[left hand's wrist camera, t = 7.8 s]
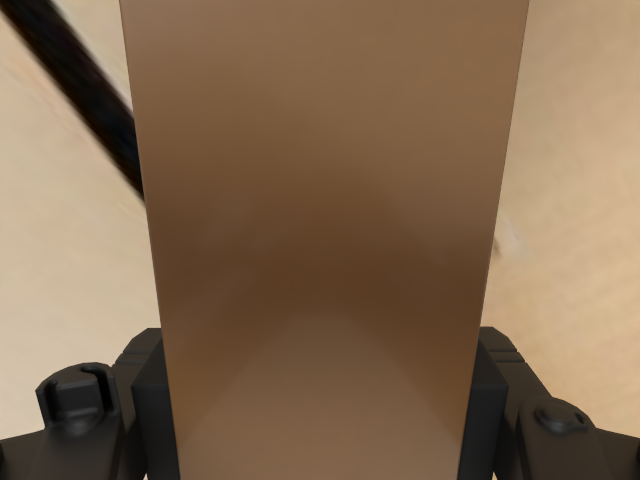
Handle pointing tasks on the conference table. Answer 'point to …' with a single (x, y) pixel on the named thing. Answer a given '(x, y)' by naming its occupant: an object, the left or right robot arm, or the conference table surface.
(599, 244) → the conference table surface
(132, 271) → the conference table surface
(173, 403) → the bar
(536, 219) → the conference table surface
